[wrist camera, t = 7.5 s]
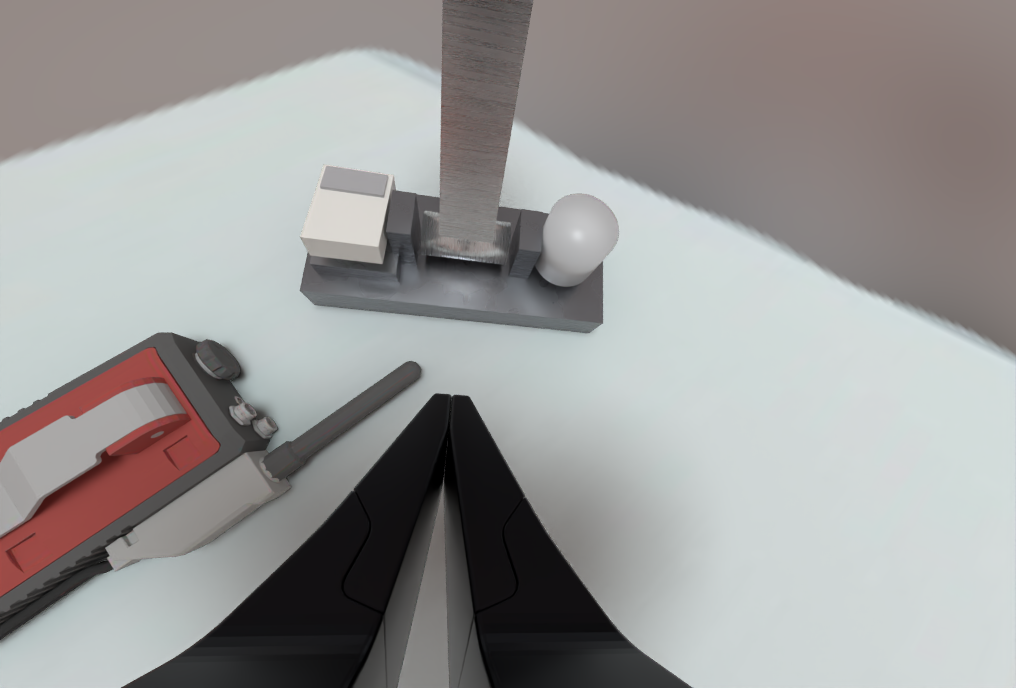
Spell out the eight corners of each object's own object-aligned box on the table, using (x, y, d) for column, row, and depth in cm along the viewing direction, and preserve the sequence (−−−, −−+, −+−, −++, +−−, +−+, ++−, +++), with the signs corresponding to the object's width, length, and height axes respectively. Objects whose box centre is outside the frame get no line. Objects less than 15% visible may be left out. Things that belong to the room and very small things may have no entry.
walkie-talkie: (15, 691, 15) (433, 385, 20) (-165, 799, 10) (428, 373, 15) (-90, 508, 15) (339, 260, 20) (-298, 539, 11) (310, 216, 16)
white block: (382, 264, 16) (377, 244, 15) (310, 255, 16) (298, 234, 14) (396, 195, 18) (393, 172, 16) (331, 185, 17) (322, 161, 16)
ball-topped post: (504, 280, 18) (608, -181, 7) (419, 270, 17) (397, -245, 7) (504, 239, 19) (589, -184, 9) (427, 229, 19) (420, -235, 8)
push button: (592, 290, 19) (619, 264, 16) (531, 282, 18) (547, 255, 15) (593, 233, 19) (618, 199, 16) (534, 225, 19) (549, 188, 16)
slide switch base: (588, 332, 21) (629, 304, 16) (314, 304, 19) (269, 262, 14) (589, 239, 23) (627, 187, 18) (334, 203, 21) (299, 135, 16)
